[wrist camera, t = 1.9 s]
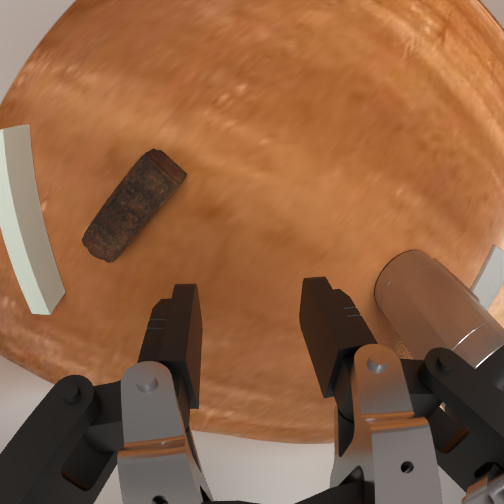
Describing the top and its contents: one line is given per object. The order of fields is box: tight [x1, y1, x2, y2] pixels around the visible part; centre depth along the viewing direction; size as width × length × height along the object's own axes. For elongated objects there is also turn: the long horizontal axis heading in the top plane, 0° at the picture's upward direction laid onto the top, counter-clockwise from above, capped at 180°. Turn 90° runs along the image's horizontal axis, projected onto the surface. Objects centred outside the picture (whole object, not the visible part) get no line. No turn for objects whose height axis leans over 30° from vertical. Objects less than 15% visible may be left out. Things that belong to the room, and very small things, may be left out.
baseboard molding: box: [470, 244, 504, 310], centre depth 39 cm, size 31×3×12 cm
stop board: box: [0, 124, 65, 315], centre depth 22 cm, size 3×20×4 cm, turn 0°
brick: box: [82, 148, 187, 263], centre depth 23 cm, size 11×4×5 cm, turn 133°
